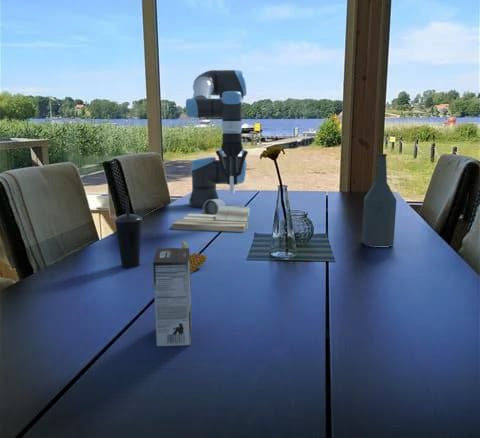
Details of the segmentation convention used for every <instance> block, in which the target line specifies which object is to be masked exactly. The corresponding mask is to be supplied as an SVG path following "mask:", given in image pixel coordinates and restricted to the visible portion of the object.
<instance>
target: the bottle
mask: <svg viewBox="0 0 480 438" xmlns="http://www.w3.org/2000/svg"><path fill="white" fill-rule="evenodd" d="M376 169H377V170H376V175H375V181H374V183H373V185H372V186H371V188H370V189H369V191H368V192H367V194H366V195H365V196H364V198H363V214H362V215H363V216H362V217H363V218H362V232H361V236H362V237H361V241H362V244H363V243H364V244H366V245H372V246H390V245H392V246H393V245H394V241H395V225H396V212H397V198H396V196H395V195H394V193H393V191H392V189H391V188H390V185H389V184H388V177H387V176H388V173H387V154H386V153H379V155H378V162H377V168H376ZM364 244H363V245H364Z"/></svg>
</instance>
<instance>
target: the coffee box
mask: <svg viewBox="0 0 480 438" xmlns="http://www.w3.org/2000/svg"><path fill="white" fill-rule="evenodd" d="M152 265H153V266H152V267H153V270H152V271H153V283H154V284H153V288H154V289H153V291H154V309H155V310H154V312H155V313H154V314H155V316H154V317H155V334H156V335H155V338H156V339H155V340H156V347H173V346H174V347H175V346H176V347H178V346H191V345H192V343H191V342H192V298H191V296H192V293H191V292H192V291H191V290H192V289H191V283H192V282H191V273H190V247H188V248H182V247H181V248H179V247H160V248H156V252H155V254H154V258H153V262H152Z"/></svg>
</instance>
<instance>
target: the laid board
mask: <svg viewBox="0 0 480 438" xmlns="http://www.w3.org/2000/svg"><path fill="white" fill-rule="evenodd" d="M171 227H172V230H189V231H210V232H211V231H215V232H236V233H238V232H239V233H244V232H245V231H246V230H247V229H248V228H249V221H248V220H247V221H223V220H198V219H183V218H179V219H177V220H176V221H174V222H172V225H171Z"/></svg>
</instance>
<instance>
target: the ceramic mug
mask: <svg viewBox="0 0 480 438" xmlns="http://www.w3.org/2000/svg"><path fill="white" fill-rule="evenodd" d="M219 206H227V205H226V203H225V201H223V200H222V199H220V198H219V199H213V200H208V201H206V202H205V203H204V205H203V208H202V210H201V211H200V214H210V215H217V212H218V209H219Z"/></svg>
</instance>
